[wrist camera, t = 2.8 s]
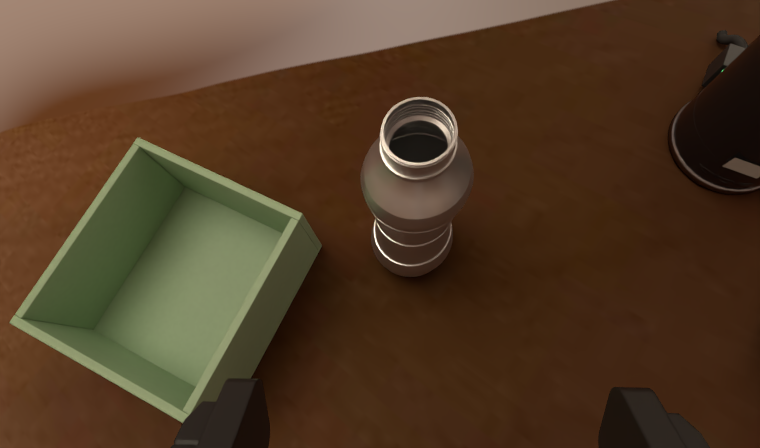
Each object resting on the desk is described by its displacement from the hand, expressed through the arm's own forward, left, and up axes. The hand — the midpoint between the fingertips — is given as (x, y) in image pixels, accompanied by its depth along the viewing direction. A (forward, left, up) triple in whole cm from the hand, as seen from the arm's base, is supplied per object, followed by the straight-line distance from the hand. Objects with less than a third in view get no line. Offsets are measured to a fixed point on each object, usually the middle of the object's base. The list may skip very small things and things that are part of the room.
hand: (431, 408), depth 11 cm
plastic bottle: (-11, -5, -28) cm, 31 cm away
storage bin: (0, -19, -28) cm, 34 cm away
